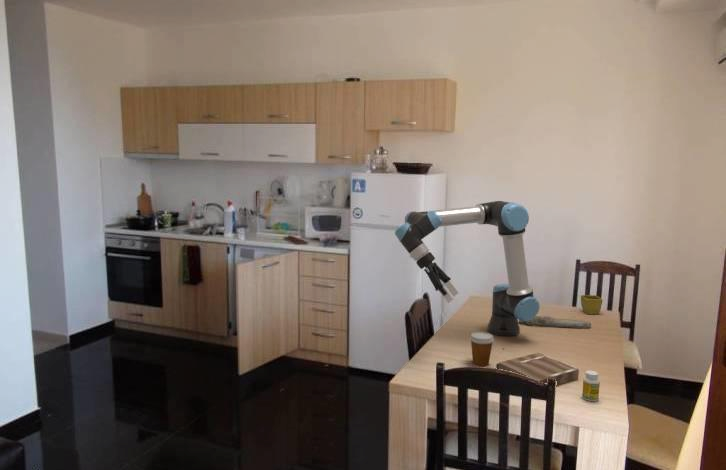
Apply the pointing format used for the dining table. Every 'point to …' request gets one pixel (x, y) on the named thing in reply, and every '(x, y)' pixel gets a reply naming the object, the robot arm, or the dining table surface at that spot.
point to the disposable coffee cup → (481, 348)
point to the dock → (541, 368)
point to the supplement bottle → (591, 386)
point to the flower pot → (591, 304)
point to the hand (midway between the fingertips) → (453, 297)
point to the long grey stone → (556, 322)
